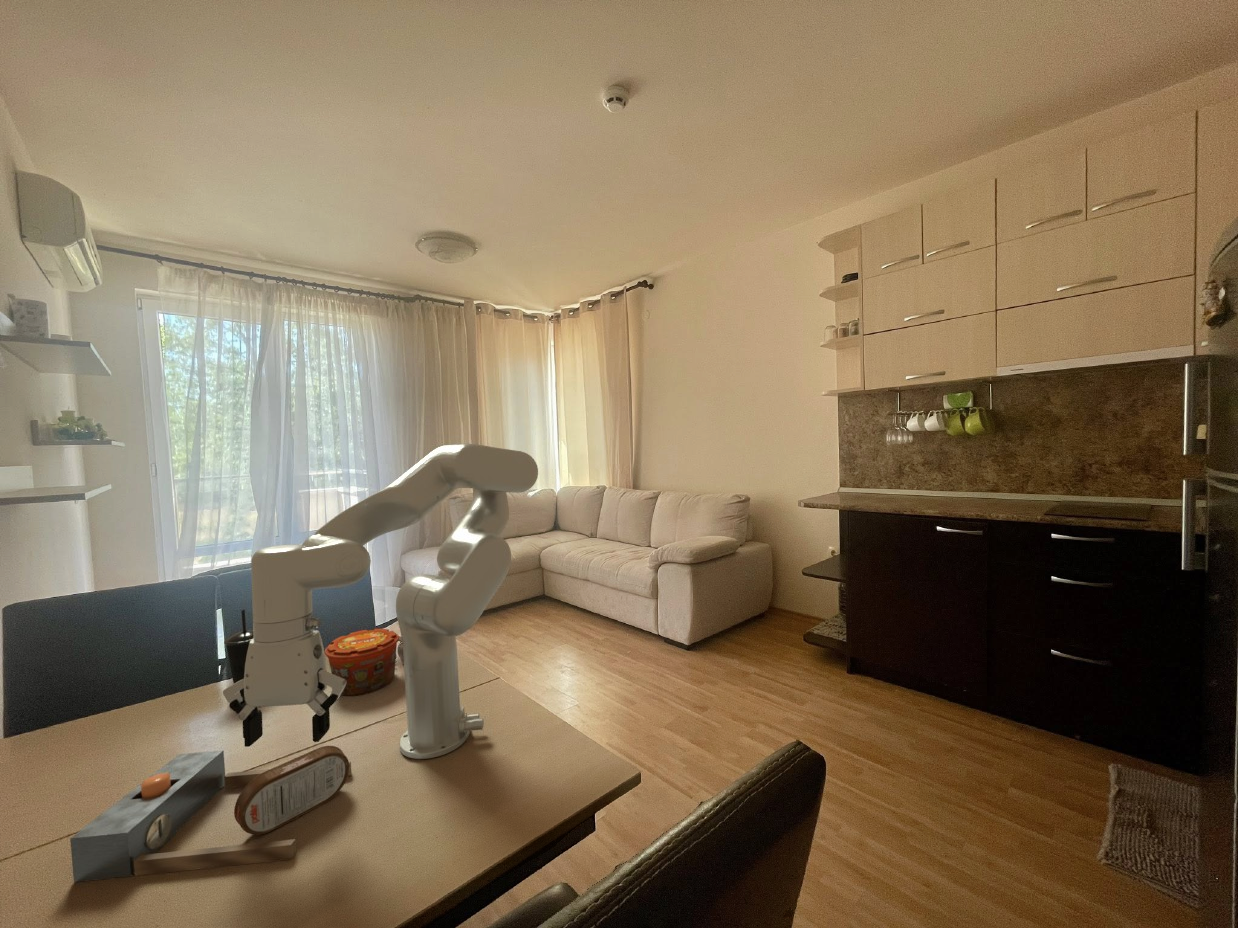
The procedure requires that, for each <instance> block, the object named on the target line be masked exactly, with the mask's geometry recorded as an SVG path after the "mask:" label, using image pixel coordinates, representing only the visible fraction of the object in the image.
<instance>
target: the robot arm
mask: <svg viewBox="0 0 1238 928" xmlns="http://www.w3.org/2000/svg"><path fill="white" fill-rule="evenodd" d="M538 476H539V468H538V465H537V462H536V460H535V459H534V458H533V457H532V456H531V455H530V454H529V453H527V452H524V451H521V450H516V449H515V450H514V449H507V448H502V447H494V446H490V445H488V446H487V445H482V444H477V443H461V444H459V443H455V444H445V445H441V446H439V447H436V448H435V449H433V450H432V451H430V452H429V453H428V454H426V455H425V456H424V457H423V458H421V460H419V461H418V462H416V463H415V464H414V465H412V466H411V467H410V468H409V469H408V470H406V471H405V472H403V474H401V475H400V476H399V477H398V478H396V479H395V480H393V482H391V483H390V484H388V485H387V486H385V487H384V488H383V489H381V490H379V491H377V492H374V493H373V494H371V495H370V496H368V497H366V498H364V499H363V500H361V501H359V502H357V503H356V504H353V505H352V506H350V507H348V508H346V509H345V510H342V511H341V512H340V513H339V514H337V515H336V516H334V517H333V518H331V519H330V520H328V522H326V523H325V524H323V525H322V526H321V527H319V529H317V530H316V531H315V532H313V533H312V534H311V535H309V537H307V538H306V539H305V540H303V541H304V542H303V543H302V544H283V545H276V546H269V547H263V548H261V549H259V550H257V551H256V552H254V554H253V555H252V556H251V561H250V562H251V563H250V564H251V565H250V566H251V567H250V569H251V596H252V600H251V601H252V602H251V603H252V630H253V637H254V639H252V640H251V641H250V643H249V647H248V651H247V656H246V663H245V673H244V679H242V680H240V681H238V682H236V683H233V684H231V685H229V686H228V687H226V688H225V689H223V691H222V694H223V697H224V699H225V700H226V701H227V703H229V705H228V706H229V708H230V709H231V710H232V711H233V712H234V713H235V714H236V715H237V720H239V721H242V738H243V739H244V740H243V741H244V747H245V748H247V747H248V748H249V747H252V745H254V744H255V743H256V742H257V741H258V740H259V739H261V737H262V736H263V734H264V733H263V732H264V731H263V729H264V727H263V712H262V710H261V709H259V708H269V707H284V706H285V707H286V706H297V705H299V706H301V705H307V706H308V707H309V708H310V709H311V710H312V711H313V712H314V713H315V714H314V715H313V716H312V717H311V718H312V719H311V722H312V723H311V725H312V741H313V742H314V743H319V742H320V741H321V740H322V738H324V736H325V735H327V734H328V732H329V730H330V726H331V721H330V719H331V718H330V708H331V707H332V706H333V705H334V704H335V702H336V701H338V699H340V697H341V696H342V695H341V693H342V692H343V690H344V688H345V686H346V683H347V681H346V680H345V679H343V678H341V677H338V676H336V675H334V674H332V673H331V672H328V667H327V661H326V659H327V658H326V655H325V647H324V644H323V640H322V636H321V633H320V631H319V630H315V628H320V627H321V626H322V618H318V617H317V618H316V617H315V612H314V611H313V590H318V589H319V590H320V589H334V588H344V587H348V586H351V585H354V584H356V583H358V582H360V581H361V580H362V579H364V577H365V576H367V574H368V572H369V570H370V567H371V562H372V561H371V555H370V553H369V551H368V550H367V548H366V547H365V545H367V544H368V543H369V542H371V541H373V540H374V539H376V538H378V537H380V536H383V535H385V534H387V533H390V532H394V531H398V530H403V529H404V528H405V529H406V528H408V527H410V526H412V525H415V524H417V523H419V522H421V521H422V520H423V519H424V518H425V517H427V516H428V514H430V513H431V511H433V510H434V509H435V508H436V507H437V506H438V505H439V504H440V503H442V502H443V501H444V500H445V499H446V498H448V497H449V496H450V495H451V494H452V493H453V492H454V491H456V490H457V489H459V488H460V489H472V501H471V504H470V506H469V508H468V510H467V511H466V513H465V514H464V516H462V517H461V519H460V521H459V522H458V523H457V525H456V526H455V527H454V528H453V530H452V531H451V532H450V534H449V535H448V537H447V538H446V539H445V540H444V542H443V543H442V544H441V546H440V548H439V549H438V551H437V556H436V563H437V566H438V567H439V568H440V570H441V571H442V572H443V573H445V574H446V575H449V576H451V578H447V577H443V576H439V575H435V574H428V573H427V574H420V575H415V576H413V577H411V578H410V579H407V581H405V582H404V583H403V584H402V585H401V587H400V589H399V590H398V592H397V596H396V599H395V613H396V619H397V623H398V627H399V632H400V636H401V643H402V651H403V653H402V654H403V668H404V669H403V671H404V685H405V686H404V687H405V689H404V690H405V702H406V703H405V704H406V723H407V730H406V731H404V733H403V734H402V735H401V737H400V739H399V743H398V745H399V750H400V753H401V754H402V755H403V756H405V757H407V758H410V759H414V760H416V759H417V760H427V759H433V758H437V757H440V756H441V757H442V756H444V755H446V754H449V753H451V752H452V751H455V750H456V749H458V748H460V746H462V745H463V744H464V743H465V741H467V739H468V738H469V735H470V733H471V731H482V730H484V718H480V713H473V714H468V713H466V712H465V711H466V710H465V706H463V705H461V703H460V702H461V700H460V684H459V683H460V682H459V680H460V679H459V666H458V665H459V664H458V660H459V659H458V645H457V638H456V637H458V636H460V635H463V634H464V633H466V632H468V631H469V630H470V629H471V628H472V627H473V626H474V625H475V623H476V622H477V621H478V620H479V618H480V617H481V616H482V614H483V613H484V611H485V610H486V608H487V607H488V605H489V603H490V602H491V600H492V599H493V598H494V595H495V594H496V593H497V592H498V589H499V588H500V587H501V585H502V583H503V582H504V581H505V579H506V577H507V575H508V572H509V571H510V567H511V563H512V552H511V551H512V549H511V547H510V545H509V543H508V541H506V540H505V538H503V536H502V537H501V535H502V533H503V532H504V530H505V529H506V526H507V524H508V522H509V518H510V517H509V515H510V508H509V507H510V506H509V500H508V499H509V498H508V494H507V493H515V494H517V493H525V492H527V491H529V490H530V489H532V488H533V486H534V485H535V484H536V482H537V480H538V478H539V477H538ZM328 687H330V688H331V692H330V695H328V694H326V693H325V691H326V689H327V688H328ZM243 688H244V697H242V696H241V694H240V690H241V689H243Z"/></svg>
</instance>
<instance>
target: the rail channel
mask: <svg viewBox="0 0 1238 928" xmlns="http://www.w3.org/2000/svg"><path fill="white" fill-rule="evenodd" d="M269 769H270V768H268V769H257V770H245V771H237V772H234V771H233V772H228V773H226V774H225V776H224V783H225V786H224V789H232V788H233V789H234V788H242V787H243V788H245V787H246V786H247V785H248V784H249V783H250V782H251V781H252V780H253V779H254V778H256V777H257V776H258V775H260V774H261V773H263V772H265V771H267V770H269ZM351 775H352V762H351V761H349V773H348V777H347V778H350V776H351ZM296 846H297V845H296V838H294V839H284V840H283V839H282V840H275V841H273V840H272V841H263V842H255V843H254V842H253V843H246V844H245V843H244V844H235V845H225V846H217V847H216V846H215V847H207V848H205V847H204V848H197V849H196V848H195V849H188V850H187V849H186V850H178V851H168V852H166V851H165V852H159V853H158V852H157V853H155V854H147V855H140V856H139V857H138V858H137V859H136V860H135V861H134V871H135V873H134V876H145V875H146V876H147V875H154V874H155V875H156V874H165V873H174V872H182V871H193V870H201V869H202V870H203V869H211V868H212V869H213V868H220V867H230V866H239V865H248V864H249V865H250V864H258V863H259V864H260V863H268V862H276V861H286V860H292V859H293V858H294V857H295V856H296V854H297V847H296Z"/></svg>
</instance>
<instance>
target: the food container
mask: <svg viewBox="0 0 1238 928" xmlns="http://www.w3.org/2000/svg"><path fill="white" fill-rule="evenodd" d="M399 640H400V636H399V634H397V632H395V631H394V630H389V629H387V628H374V629H372V630H371V629H370V630H368V629H363V630H362V629H361V630H358V631H354V632H350V633H349V634H347V635H342V636H339V637H337V638H335V639H333V640H331V643H330V644H329V645H328V646H327V647H326V648H324V652H325V657H327V658H328V663H329V668H330V673H331V674H334V675H336V676H338V677H341V678H343V679H345V680H346V681H347V683H346V686H345V688H344V690H343V692H342V693H341V696H344V697H353V696H362V695H366V694H371V693H374V692H377V691H378V690H381V689H382V688H384V687H386V686H388V685H390V684H391V682H392V681H393V680H394V679H395V672H396V661H397V660H396V659H397V646H398V645H397V643H398V642H399Z"/></svg>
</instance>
